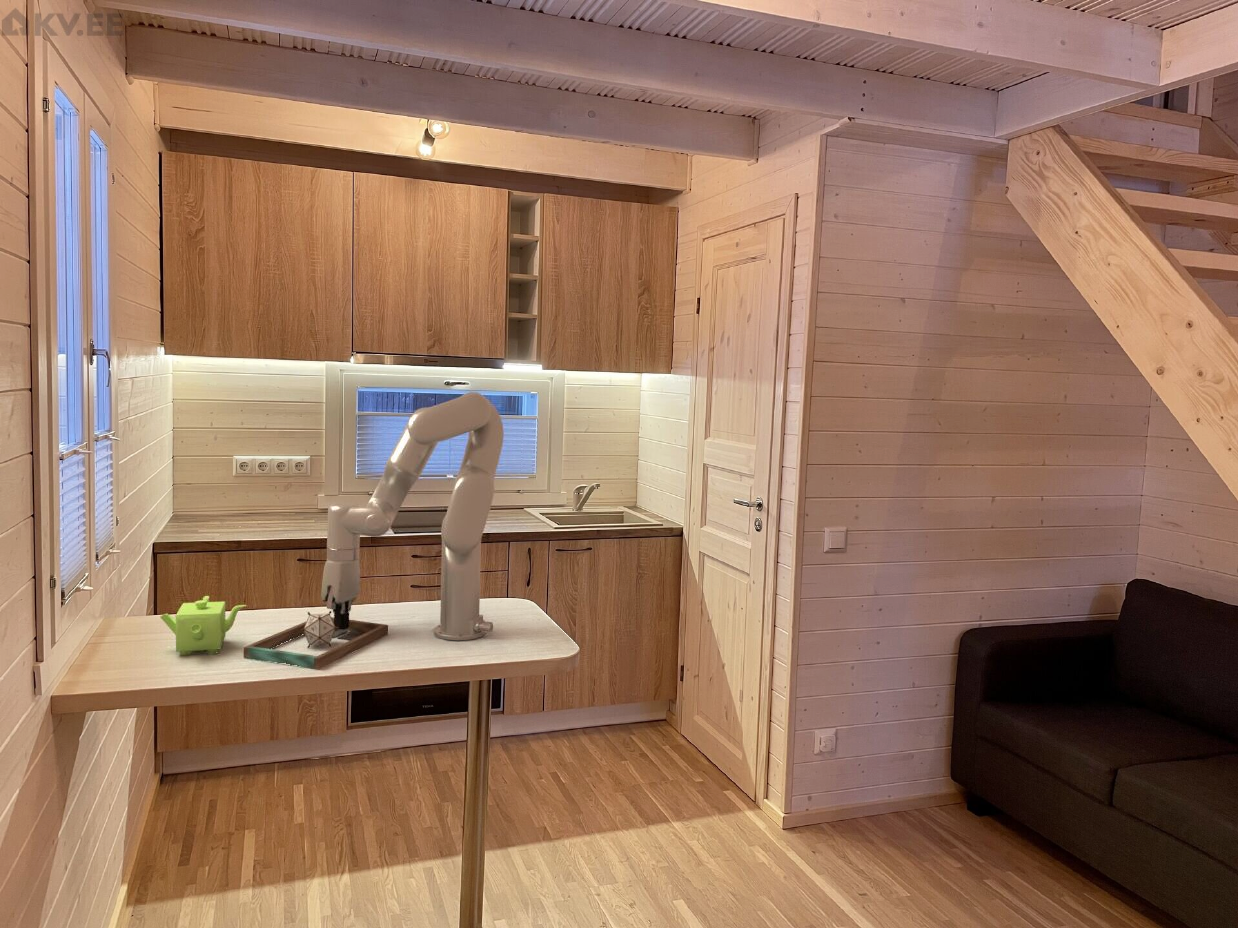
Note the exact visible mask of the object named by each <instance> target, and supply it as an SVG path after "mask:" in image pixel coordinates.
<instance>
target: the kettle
mask: <svg viewBox="0 0 1238 928" xmlns="http://www.w3.org/2000/svg"><path fill="white" fill-rule="evenodd" d="M246 606H247V604H239V605H235V606H234V607H232V609H231V611H230V613H229V616H228V617H227V619H226V601H210V596H209V595H205V596H203V597H202V599H201V600H196V601H194V602H183V603H182V604H181V606H180V608H179V609H178V611H177V613H176V615H175V618H174V617H172V616H171V615H170V614H169V613H168V612H167V613H163V614H160V616H159V617H160V619H161V620H162V621H163V622H164V623H165V624H166V626H167V627H168V628H169V630H171V631H172V633H173V634H174V635H175V652H181V653H180V655H181V656H189V655H192V654H193V652H195V651H207V654H209V653H215V654H217V653H216V652H218V651H219V650H221V648H222V646H223V643H224V642H225V641H224V640H225V638H226V633H227V632H229V631H230V629H232V627H233V625H234V622H235V621H236V616H237V614H238V613H239V611H240V610H241V609H243V608H245V607H246ZM218 653H219V652H218Z"/></svg>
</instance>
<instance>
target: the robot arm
mask: <svg viewBox="0 0 1238 928" xmlns="http://www.w3.org/2000/svg"><path fill="white" fill-rule="evenodd" d="M503 425H504V424H503V420H502V418H501V416H500V413H499V412H498V410H497V408H496V407H495V406H494V404H493V403H492V402H491V401H490V400H489V399H488V398H487V397H486V396H485V395H483V394H482V393H480V392H476V391H469V392H466V393H463V394H462V395H461V396H459V397H456V398H453V399H450V400H448V401H445V402H442V403H438V404H436V405H433V406H429V407H420V408H418V409H416V410H415V411H414V412H413V413H412V414H411V415H410V417H409V419H408V421H407V424H406V425H405V428H404V429H403V431H402V432H401V435H400V436H399V438H398V440H397V442H396V444H395V446H394V448H393V450H392V451H391V454H390V455H389V457H388V459H387V462H386V463H385V466H384V472H383V473H382V476H381V478H380V480H379V481H378V484H377V486H376V488H375V490H374V492H373V493H372V495H371V497H370V499H369V500H368V503H367V504H366V506H359V505H358V504H356V503H353V502H335V503H331V504H330V505H329V506H328V508H327V526H326V527H327V534H326V539H327V540H326V561H325V563H324V566H323V573H322V582H321V594H320V595H321V597H320V598H321V601H322V602H324V603H325V602H327V603H326V609H329V610H332V613H333V618H334V625H335V627H339V628H338V629H342V630H345V629H347V628H349V620H350V612H351V611H352V604H353V603H354V602H355V601H356V600H357V597H358V596H359V595H360V594H361V593H360V592H361V566H360V565H361V564H360V547H361V546H360V543H361V542H360V541H361V537H360V535H361V536H366V537H375V538H376V537H381V536H383V535H386V533H387V532H389V530H390V528H391V526H392V524H393V522H394V521H395V518H396V516H397V514H398V513H399V510H400V508H401V507H402V505H403V503H404V501H405V500H406V497H407V496H408V493H410V490H411V489H412V488H413V486H414V485H415V484H416V483H417V481H418V480H419V478H420V477H421V475H422V473H423V471H424V469H425V468H426V465H427V463H428V461H429V460H430V458H431V456H432V454H433V452H434V450H435V449H436V447H437V445H438V443H440V442H444V441H446V440H450V439H452V438H456V437H459V436H461V435H466V434H467V433H468V439H467V443H466V445H465V446H466V447H465V450H464V451H465V452H464V455H463V459H462V462H461V464H460V467H459V471H458V473H457V475H456V477H455V480H454V484H453V489H452V493H451V496H450V500H449V503H448V507H447V511H446V514H445V516H444V517H443V519H442V522H441V532H440V535H441V536H440V537H441V567H440V568H441V572H440V617H439V618H440V624H439V625H437V626H435V627H434V628H433V634H434V636H435V637H437V638H439V639H442V640H447V641H469V640H471V641H472V640H475V639H478V638H481V637H483V636H484V635H485V634H486V632H488V633H492V632H493V630H494V624H493V622H492V621H486V620H484V615H482V614H480V603H481V602H480V599H481V598H480V597H481V596H480V595H481V594H480V593H481V567H482V566H481V564H482V563H481V560H482V559H481V557H482V555H481V554H482V552H481V551H482V537H483V534H484V531H485V527H486V524H487V521H488V518H489V514H490V511H491V507H492V504H493V500H494V496H495V484H494V483H495V482H494V480H495V476H496V473H497V469H498V465H499V461H500V457H501V453H502V449H503V444H504V426H503Z"/></svg>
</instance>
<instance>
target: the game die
mask: <svg viewBox="0 0 1238 928" xmlns="http://www.w3.org/2000/svg"><path fill="white" fill-rule="evenodd" d="M331 614H332V610H329V612H328V613H316V614H315V613H314V614H311V612H310V611H307V615H308V617H307V620H306V621H307V622H306V621H305V622H306V624H305V626H304V629H303V628H301V629H300V630H301V632H304V636H305V638H306V641H307V643H308V645H307V649H309V648H310V647H311V646H321V645H322V646H323V645H328V647H330V648H332V644H331V642H332V639H333V638H332V637H333V634H334V632H335V630H336V631H337V630H338V628H339V627H335V625H334V623H333V620H332V618H331V617H332V616H331Z"/></svg>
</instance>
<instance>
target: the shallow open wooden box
mask: <svg viewBox="0 0 1238 928" xmlns="http://www.w3.org/2000/svg"><path fill="white" fill-rule="evenodd" d="M331 618H332V620H333V623H334V616H333V617H332V616H331ZM306 622H307V620H306V621H304V622H302V623H298V624H297V625H294V626H292V627H289V628H286V629H284V630H283V631H282V630H281V631H280V632H277V633H275V634H272V635H269V636H267V637H265V638H262V639H260V640H258V641H255V642H252V643H250V644H248V645H246V646H243V659H247V660H253V659H255V661H259V660H261V662H266V661H271V662H270V663H272V662H277V663H276V664H279V663H286V664H290V665H289V666H292V665H297V666H296V667H298V666H301V667H300V668H305V667H307V669H312V670H321V669H323V668H325V667H327V666H329V665H331V664H334V663H335V662H337V661H339V660H341V659H343V658H345V657H347V656H349V655H351V654H353V653H355V652H357V651H358V650H361V649H363V648H365V647H366V646H368V645H369V646H370V644H373V643H375V642H376V641H379V640H381V639H383V638H385V637H387V636H388V635H389V624H383V623H377V622H370V621H363V620H357V619H356V620H355V619H349V628H347V629H345V630H342V629H338V630H337V631H336V630H335V632H334V634H333V637H332V639H335V638H337V640H343V639H344V640H345V641H346V642H344V643H342V644H340V645H338V646H336V647H333V648H332V649H329V650H327V651H326V652H323V653H321V654H319V655H311V654H305V653H299V652H291V651H286V650H285V651H284V650H280V649H279V650H278V649H274V648H276V646H277V645H279V646H281V645H282V644H281V643H284V642H286V641H288V642H290V641H289V640H290V639H293V638H295V639H297V638H296V637H298V636H300V637H301V635H302V634H304V632H301V630H300V629H301V628H303V629H304V626H305V624H306ZM304 635H305V634H304ZM302 636H303V635H302ZM298 638H299V637H298ZM293 640H294V639H293ZM286 643H287V642H286ZM280 644H281V645H280ZM284 644H285V643H284ZM273 647H274V648H273ZM277 647H278V646H277ZM271 648H272V649H271ZM356 650H357V651H356ZM354 651H355V652H354ZM352 652H353V653H352ZM350 653H351V654H350ZM348 654H349V655H348Z"/></svg>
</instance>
